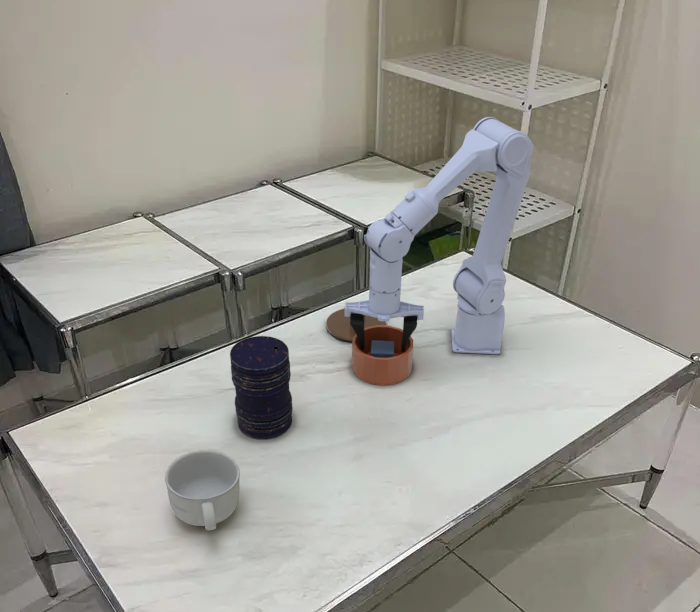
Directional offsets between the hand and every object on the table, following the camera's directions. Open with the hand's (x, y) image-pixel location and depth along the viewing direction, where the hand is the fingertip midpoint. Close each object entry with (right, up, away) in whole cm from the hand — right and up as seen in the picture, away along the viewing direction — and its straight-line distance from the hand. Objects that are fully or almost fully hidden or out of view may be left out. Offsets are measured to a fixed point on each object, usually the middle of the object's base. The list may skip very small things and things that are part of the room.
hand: (382, 348), depth 138 cm
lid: (-5, +6, +14) cm, 16 cm away
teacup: (-28, -27, -28) cm, 48 cm away
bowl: (0, -4, +3) cm, 5 cm away
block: (0, -3, +3) cm, 4 cm away
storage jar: (-21, -14, -10) cm, 27 cm away
